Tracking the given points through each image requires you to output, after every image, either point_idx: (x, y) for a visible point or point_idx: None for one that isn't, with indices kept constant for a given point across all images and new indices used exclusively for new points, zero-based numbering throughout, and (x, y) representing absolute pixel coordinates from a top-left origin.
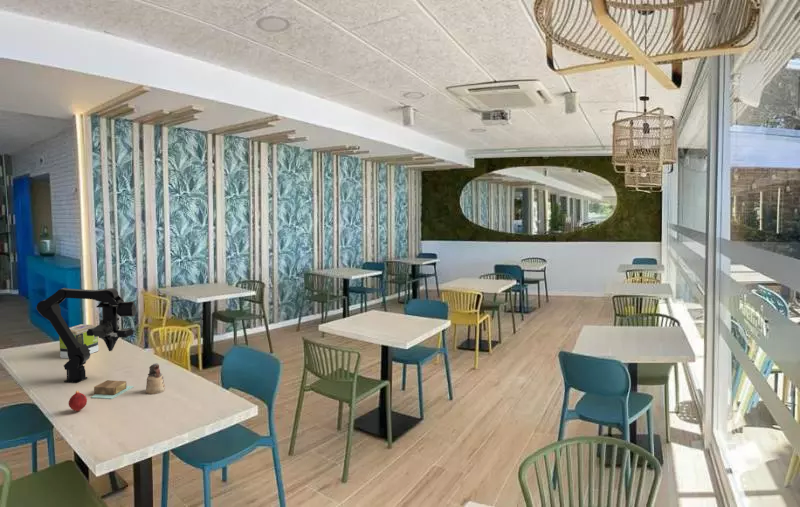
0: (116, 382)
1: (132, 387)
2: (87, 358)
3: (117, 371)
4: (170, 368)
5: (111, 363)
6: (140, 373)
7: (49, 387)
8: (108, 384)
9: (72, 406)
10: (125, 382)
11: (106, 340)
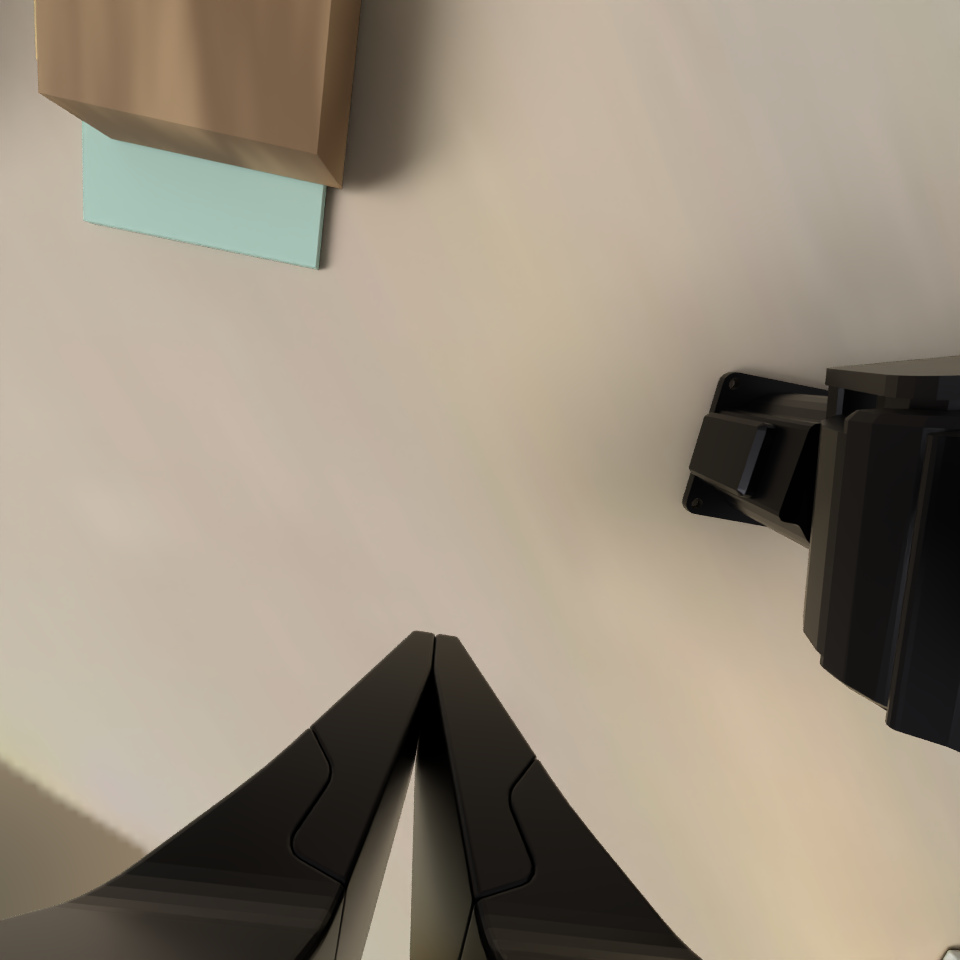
0: (139, 39)
1: (90, 204)
2: (814, 564)
3: (500, 683)
4: (72, 755)
5: (644, 864)
6: (265, 632)
7: (934, 249)
8: None
9: None
10: (47, 78)
11: (507, 912)
